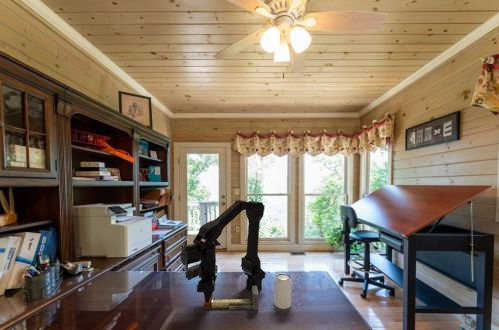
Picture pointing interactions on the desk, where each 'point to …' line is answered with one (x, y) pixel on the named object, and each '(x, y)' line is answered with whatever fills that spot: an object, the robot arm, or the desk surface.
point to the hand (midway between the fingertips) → (208, 299)
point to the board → (254, 301)
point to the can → (282, 291)
